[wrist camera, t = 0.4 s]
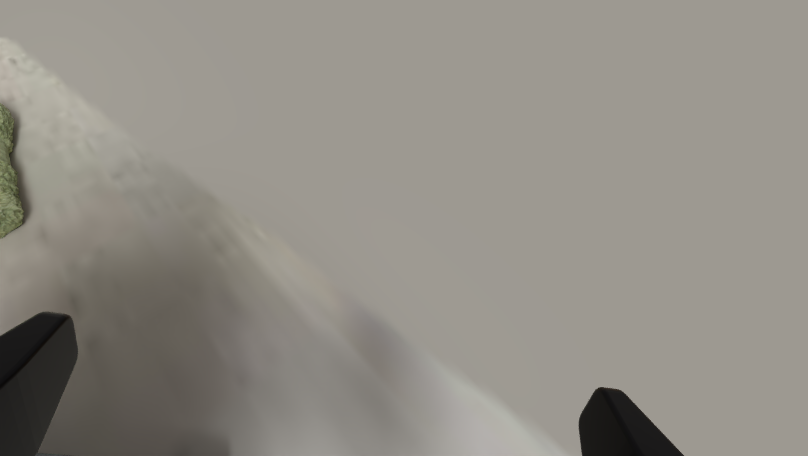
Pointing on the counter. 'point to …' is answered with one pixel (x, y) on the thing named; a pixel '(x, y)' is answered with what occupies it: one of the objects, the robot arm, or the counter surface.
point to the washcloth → (8, 178)
